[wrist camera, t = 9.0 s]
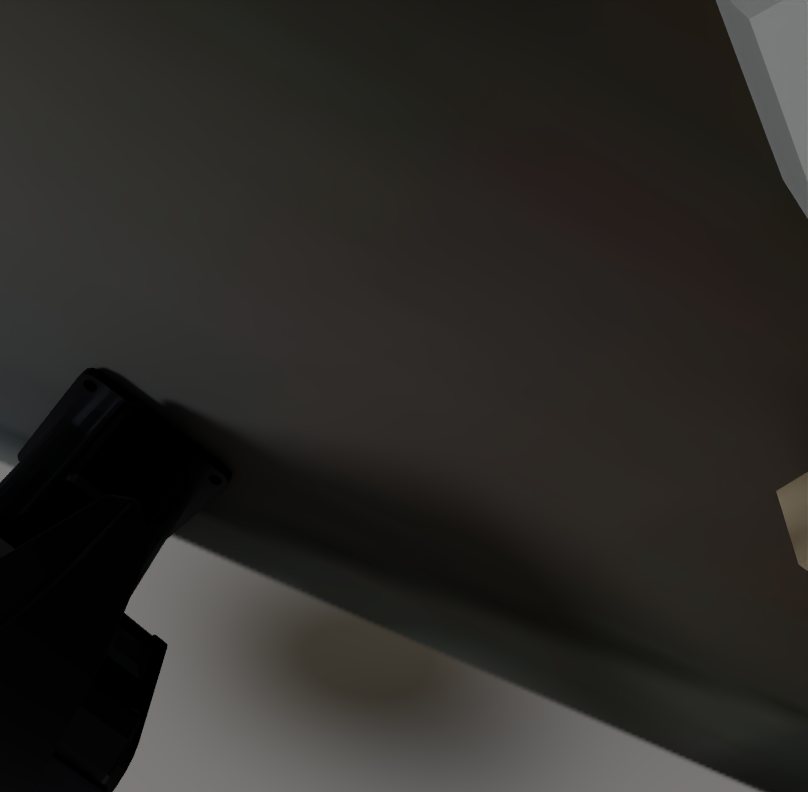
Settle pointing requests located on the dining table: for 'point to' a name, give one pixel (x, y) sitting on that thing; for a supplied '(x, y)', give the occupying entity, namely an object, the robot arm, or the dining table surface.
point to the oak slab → (796, 515)
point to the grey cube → (776, 77)
